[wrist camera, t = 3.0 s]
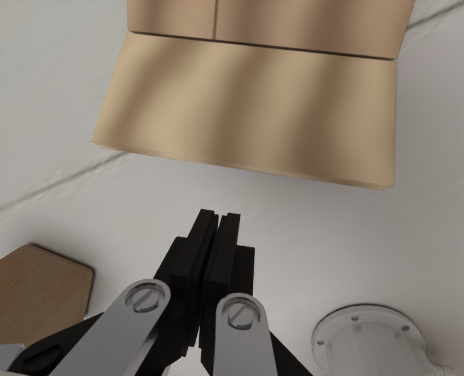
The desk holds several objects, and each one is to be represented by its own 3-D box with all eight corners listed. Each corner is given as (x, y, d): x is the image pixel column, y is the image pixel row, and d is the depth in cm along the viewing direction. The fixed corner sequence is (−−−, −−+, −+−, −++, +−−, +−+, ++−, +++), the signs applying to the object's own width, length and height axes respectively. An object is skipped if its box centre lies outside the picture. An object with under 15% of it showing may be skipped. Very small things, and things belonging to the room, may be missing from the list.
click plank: (387, 74, 21) (396, 61, 20) (383, 190, 19) (394, 185, 17) (133, 46, 23) (126, 33, 22) (101, 148, 21) (91, 140, 19)
